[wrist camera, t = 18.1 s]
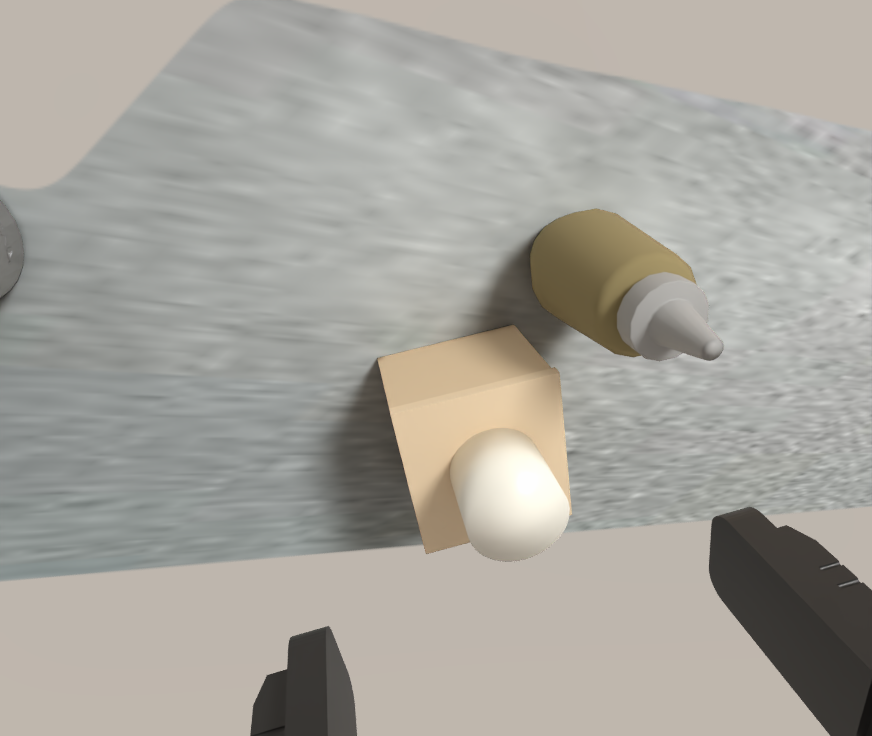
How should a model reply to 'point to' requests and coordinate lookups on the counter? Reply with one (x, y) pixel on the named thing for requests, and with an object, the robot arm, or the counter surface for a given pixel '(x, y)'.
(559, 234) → the squeeze bottle
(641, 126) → the counter surface
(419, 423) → the lid
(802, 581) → the robot arm
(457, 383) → the cardboard box
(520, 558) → the rounded white cylinder
